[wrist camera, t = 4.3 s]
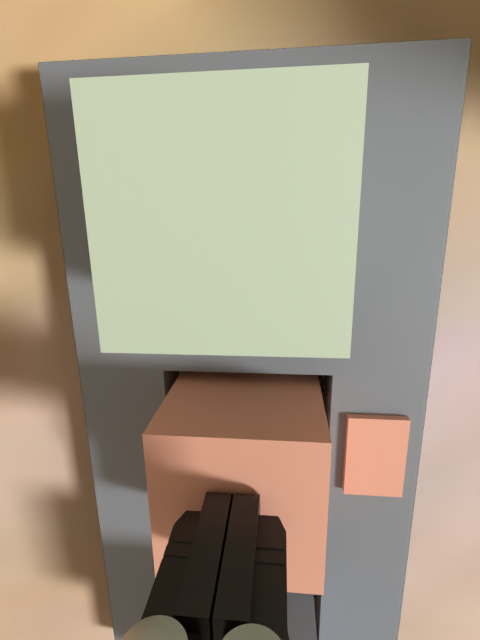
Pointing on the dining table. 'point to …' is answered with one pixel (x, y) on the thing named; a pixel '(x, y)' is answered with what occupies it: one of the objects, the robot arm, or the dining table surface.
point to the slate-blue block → (301, 616)
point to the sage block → (223, 208)
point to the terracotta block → (245, 458)
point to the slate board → (341, 373)
